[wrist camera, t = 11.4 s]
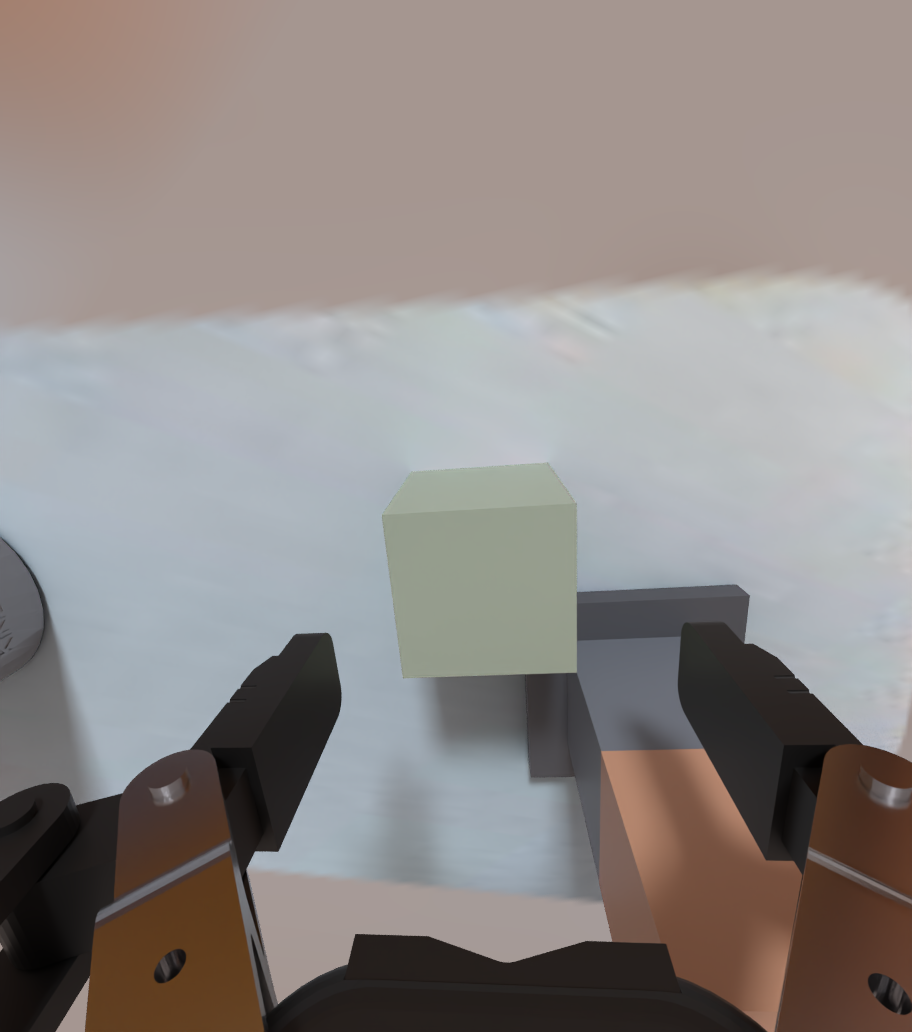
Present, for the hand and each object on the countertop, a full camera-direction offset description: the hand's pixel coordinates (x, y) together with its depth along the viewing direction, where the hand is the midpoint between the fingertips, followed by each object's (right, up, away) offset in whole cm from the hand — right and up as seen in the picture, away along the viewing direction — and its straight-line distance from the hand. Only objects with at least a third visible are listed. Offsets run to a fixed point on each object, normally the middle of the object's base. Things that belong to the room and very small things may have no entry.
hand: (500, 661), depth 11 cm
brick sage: (0, +3, +9) cm, 9 cm away
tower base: (+7, -4, +11) cm, 13 cm away
